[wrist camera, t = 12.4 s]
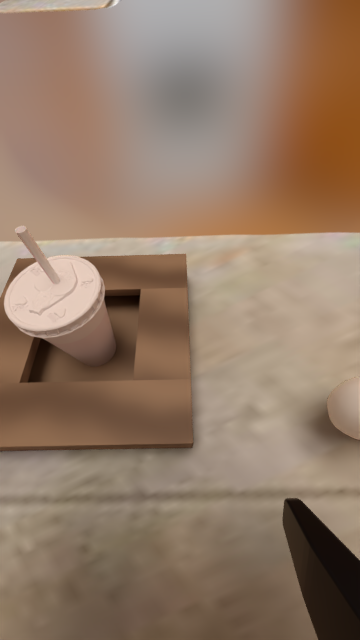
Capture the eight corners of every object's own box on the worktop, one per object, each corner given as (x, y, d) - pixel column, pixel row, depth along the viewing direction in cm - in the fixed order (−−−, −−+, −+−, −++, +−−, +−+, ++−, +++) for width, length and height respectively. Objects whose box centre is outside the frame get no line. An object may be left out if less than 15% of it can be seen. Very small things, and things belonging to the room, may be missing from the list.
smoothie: (139, 330, 26) (98, 209, 14) (112, 389, 23) (29, 300, 11) (84, 314, 27) (2, 190, 15) (51, 369, 24) (-86, 267, 12)
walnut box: (192, 447, 21) (193, 443, 17) (-24, 451, 21) (-66, 447, 17) (186, 278, 30) (186, 253, 26) (36, 282, 30) (17, 258, 27)
